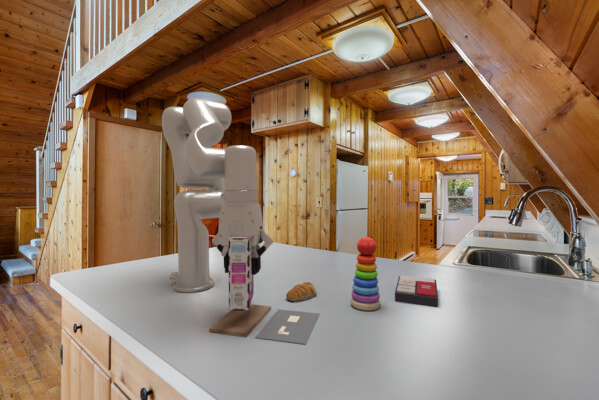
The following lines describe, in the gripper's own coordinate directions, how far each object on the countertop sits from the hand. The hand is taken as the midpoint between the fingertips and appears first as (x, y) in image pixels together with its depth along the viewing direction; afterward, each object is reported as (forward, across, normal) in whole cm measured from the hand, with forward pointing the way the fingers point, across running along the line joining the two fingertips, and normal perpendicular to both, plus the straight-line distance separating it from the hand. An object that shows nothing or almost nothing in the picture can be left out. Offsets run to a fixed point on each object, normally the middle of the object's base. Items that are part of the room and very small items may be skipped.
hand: (242, 271), depth 70 cm
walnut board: (+12, 0, 0) cm, 12 cm away
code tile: (+12, +12, 0) cm, 17 cm away
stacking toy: (+12, +28, +16) cm, 35 cm away
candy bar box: (+8, 0, 0) cm, 8 cm away
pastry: (+12, +10, +18) cm, 24 cm away
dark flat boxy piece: (+13, +43, +28) cm, 52 cm away
